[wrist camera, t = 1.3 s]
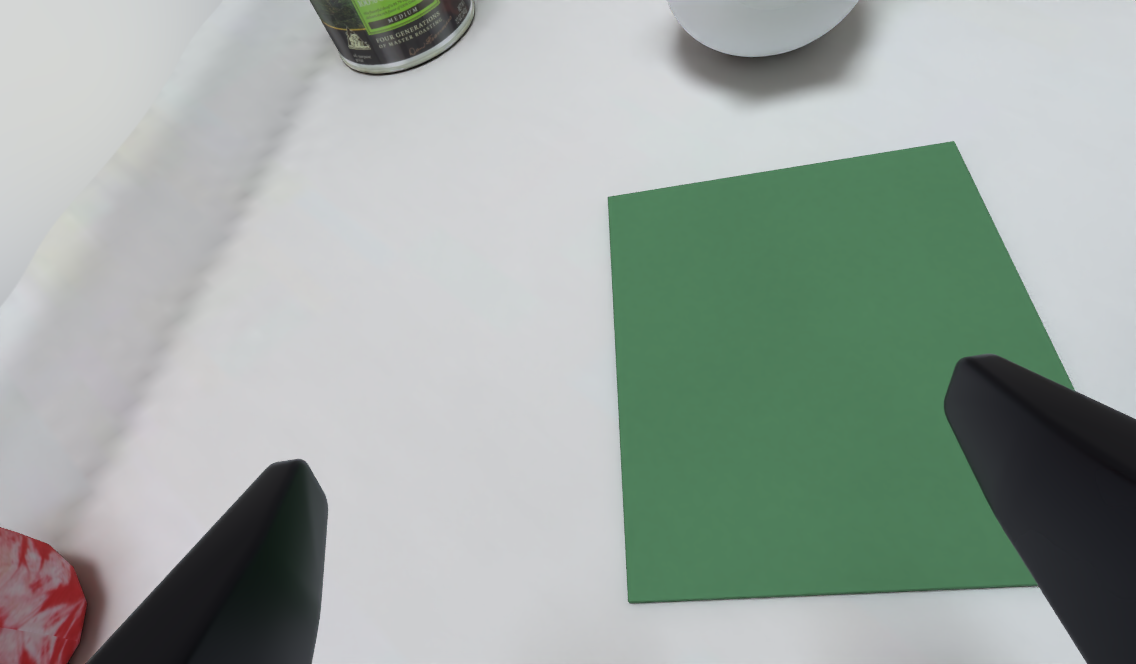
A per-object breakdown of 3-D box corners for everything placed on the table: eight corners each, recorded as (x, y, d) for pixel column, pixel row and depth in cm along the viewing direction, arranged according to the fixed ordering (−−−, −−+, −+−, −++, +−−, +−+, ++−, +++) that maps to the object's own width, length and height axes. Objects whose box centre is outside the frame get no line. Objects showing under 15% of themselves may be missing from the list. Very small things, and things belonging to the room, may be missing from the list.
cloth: (1161, 580, 19) (1166, 578, 19) (629, 603, 22) (627, 602, 22) (952, 145, 29) (954, 140, 29) (608, 200, 32) (607, 196, 32)
